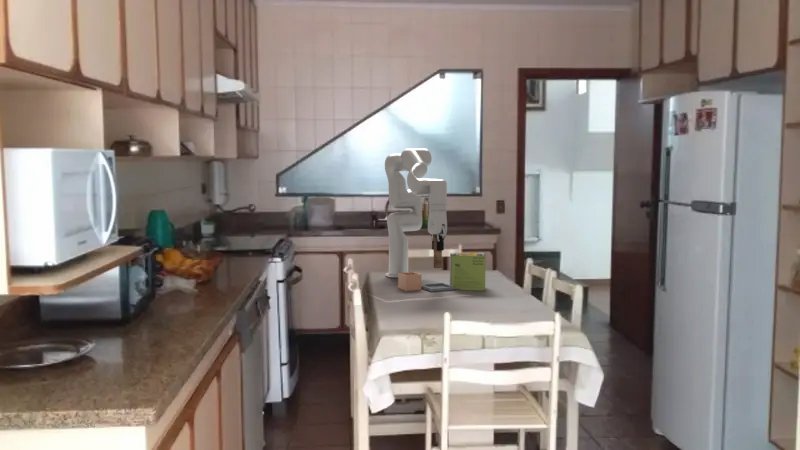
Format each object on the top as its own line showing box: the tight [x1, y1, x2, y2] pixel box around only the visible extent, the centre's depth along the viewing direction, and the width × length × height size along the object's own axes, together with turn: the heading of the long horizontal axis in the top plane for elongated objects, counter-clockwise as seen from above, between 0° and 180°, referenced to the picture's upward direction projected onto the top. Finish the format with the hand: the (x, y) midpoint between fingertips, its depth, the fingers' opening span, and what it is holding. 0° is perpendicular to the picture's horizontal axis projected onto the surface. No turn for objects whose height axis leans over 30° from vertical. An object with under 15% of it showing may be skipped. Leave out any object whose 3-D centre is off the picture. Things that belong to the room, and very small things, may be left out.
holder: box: [397, 271, 422, 292], centre depth 319 cm, size 8×8×8 cm
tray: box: [421, 282, 457, 293], centre depth 319 cm, size 12×12×2 cm
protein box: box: [449, 252, 487, 291], centre depth 325 cm, size 10×15×16 cm
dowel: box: [433, 235, 443, 269], centre depth 318 cm, size 4×4×14 cm
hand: (437, 249), depth 318 cm, fingers closed on dowel, 3 cm apart
